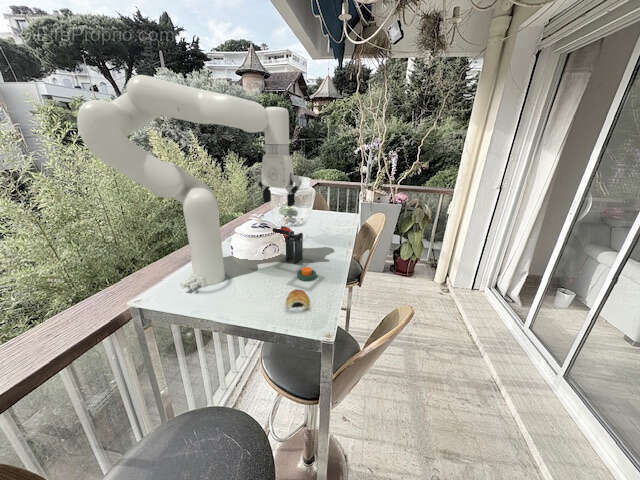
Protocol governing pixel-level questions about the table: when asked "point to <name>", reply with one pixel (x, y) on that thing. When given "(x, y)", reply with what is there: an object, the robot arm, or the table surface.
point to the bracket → (294, 248)
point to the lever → (284, 233)
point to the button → (306, 271)
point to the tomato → (285, 229)
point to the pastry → (297, 299)
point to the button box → (306, 278)
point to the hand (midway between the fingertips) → (278, 203)
